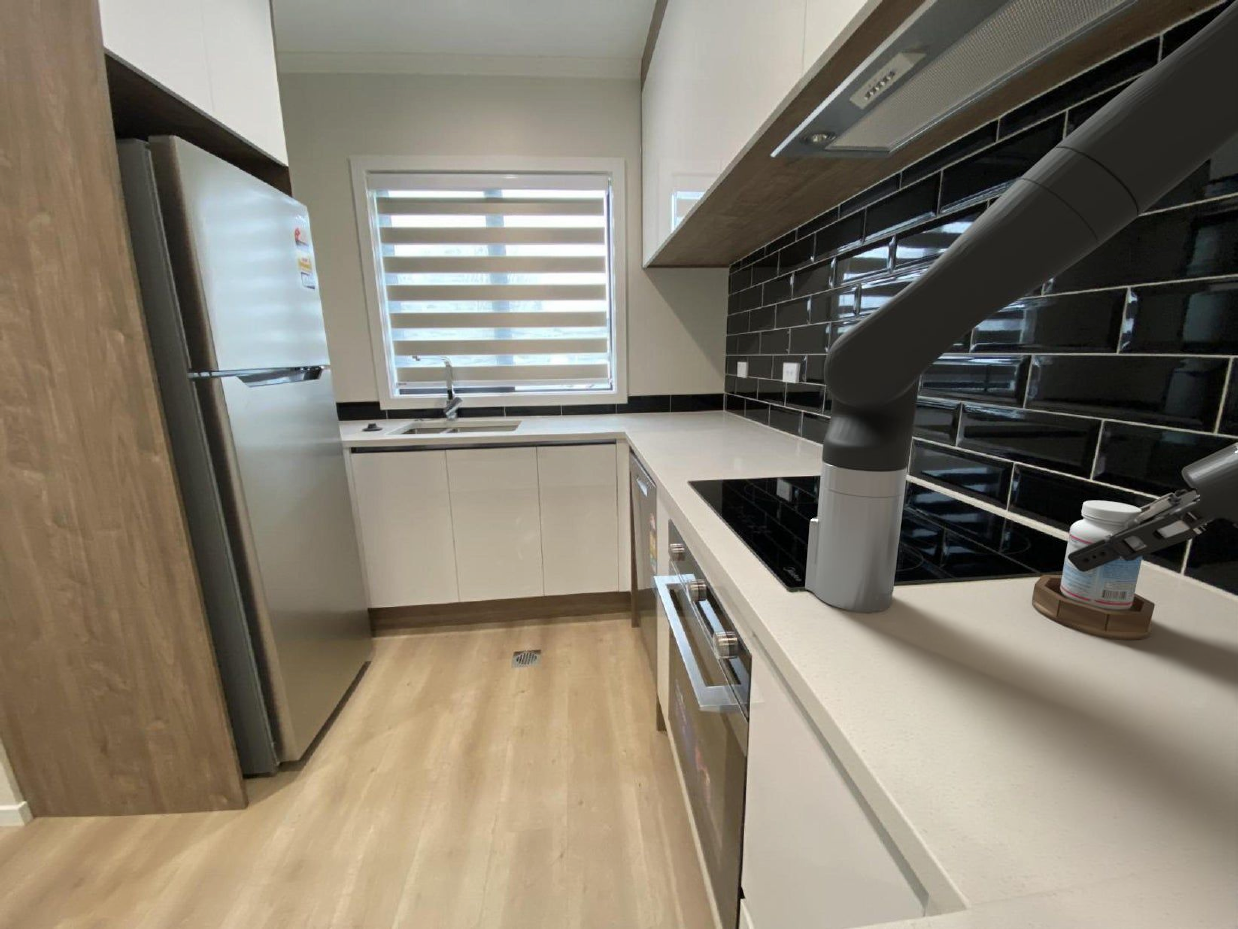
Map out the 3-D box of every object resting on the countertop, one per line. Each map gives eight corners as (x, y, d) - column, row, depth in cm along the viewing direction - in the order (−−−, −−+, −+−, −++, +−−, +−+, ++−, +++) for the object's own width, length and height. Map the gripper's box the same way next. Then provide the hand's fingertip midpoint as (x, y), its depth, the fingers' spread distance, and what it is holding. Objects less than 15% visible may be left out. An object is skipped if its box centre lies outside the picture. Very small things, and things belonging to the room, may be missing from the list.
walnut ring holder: (1021, 612, 58) (1025, 591, 57) (1043, 587, 64) (1047, 567, 63) (1144, 651, 50) (1150, 626, 50) (1155, 618, 56) (1160, 596, 56)
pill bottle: (1129, 598, 57) (1150, 505, 54) (1132, 619, 52) (1155, 518, 50) (1059, 582, 61) (1076, 495, 58) (1057, 600, 56) (1074, 506, 54)
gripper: (1239, 433, 51) (1067, 515, 63) (1237, 451, 42) (1038, 543, 54) (1311, 493, 48) (1117, 567, 60) (1326, 525, 39) (1095, 605, 51)
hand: (1080, 555), depth 57 cm, fingers closed on pill bottle, 6 cm apart
